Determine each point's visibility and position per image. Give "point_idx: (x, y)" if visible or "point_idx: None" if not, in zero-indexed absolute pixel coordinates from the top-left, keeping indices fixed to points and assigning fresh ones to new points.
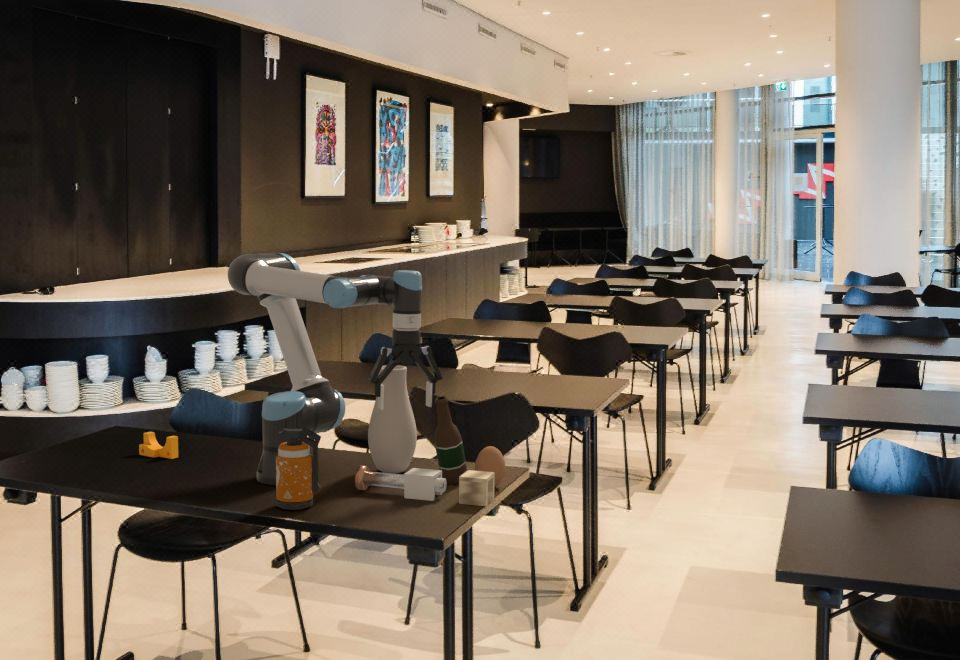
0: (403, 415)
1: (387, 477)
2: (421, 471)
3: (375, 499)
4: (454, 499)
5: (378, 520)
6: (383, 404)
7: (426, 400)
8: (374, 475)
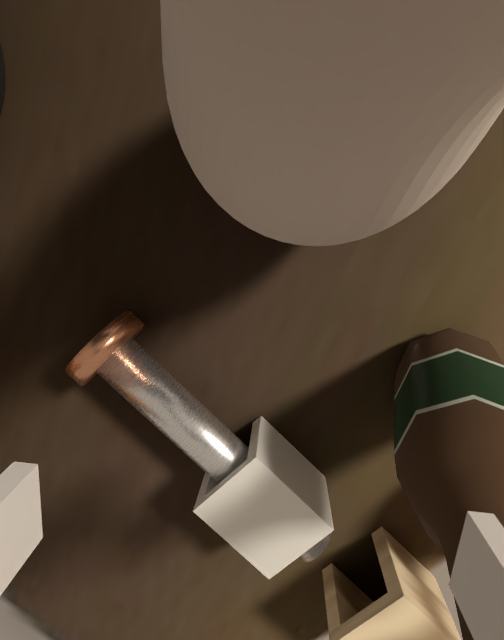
0: (356, 220)
1: (163, 433)
2: (260, 511)
3: (129, 436)
4: (332, 532)
5: (80, 589)
6: (13, 575)
7: (486, 566)
8: (127, 399)
